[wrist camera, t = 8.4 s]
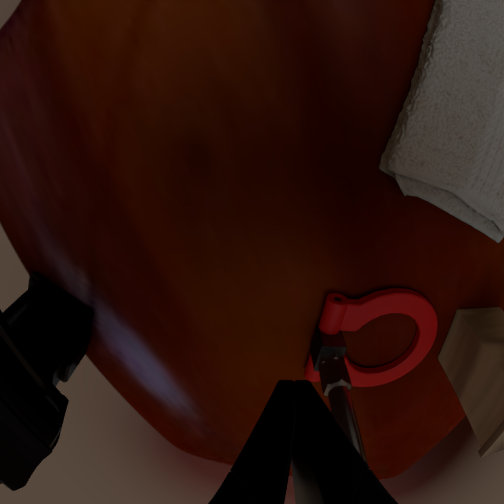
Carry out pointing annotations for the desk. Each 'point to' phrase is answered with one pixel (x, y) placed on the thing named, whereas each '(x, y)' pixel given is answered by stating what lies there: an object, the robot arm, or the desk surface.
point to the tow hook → (333, 348)
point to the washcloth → (456, 117)
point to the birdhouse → (478, 371)
